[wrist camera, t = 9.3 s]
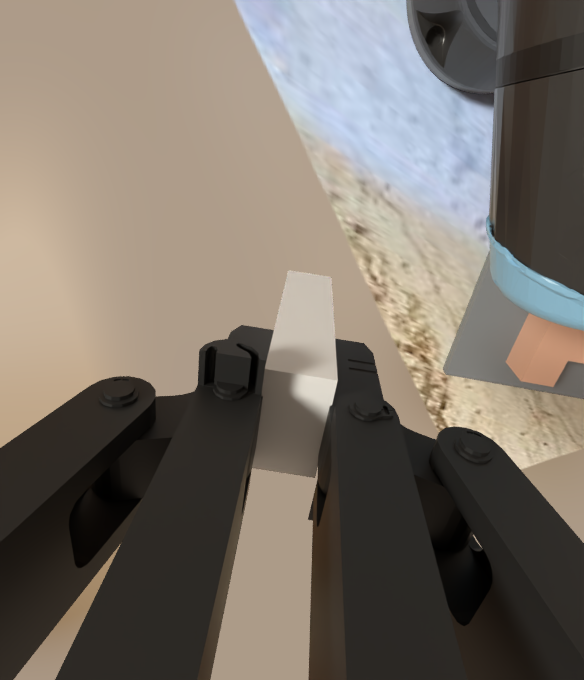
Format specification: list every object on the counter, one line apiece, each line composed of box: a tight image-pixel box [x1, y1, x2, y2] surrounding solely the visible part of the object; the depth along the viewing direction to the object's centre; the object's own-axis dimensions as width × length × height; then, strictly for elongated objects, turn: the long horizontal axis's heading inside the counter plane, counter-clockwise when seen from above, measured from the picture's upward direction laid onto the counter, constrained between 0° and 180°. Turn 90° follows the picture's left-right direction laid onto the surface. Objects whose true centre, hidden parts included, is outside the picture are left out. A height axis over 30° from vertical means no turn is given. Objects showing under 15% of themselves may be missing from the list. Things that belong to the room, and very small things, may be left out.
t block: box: [506, 313, 584, 387], centre depth 42 cm, size 10×10×4 cm
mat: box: [443, 251, 584, 399], centre depth 45 cm, size 16×17×1 cm
